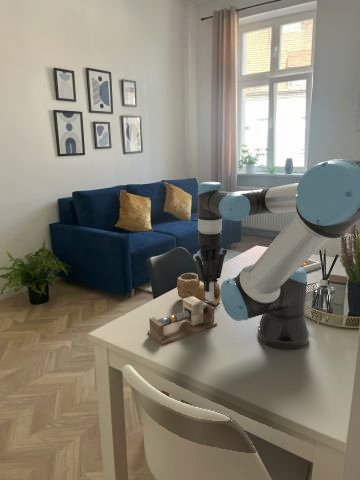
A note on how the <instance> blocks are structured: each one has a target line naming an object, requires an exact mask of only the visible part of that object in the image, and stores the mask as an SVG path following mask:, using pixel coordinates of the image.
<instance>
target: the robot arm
mask: <svg viewBox="0 0 360 480" xmlns="http://www.w3.org/2000/svg"><path fill="white" fill-rule="evenodd" d="M294 212H295V214H294V215H293V217H291V219H290V220H289V221H288V222H287V224H286V225H285V226H284V227H283V229H282V230H281V231H280V232H279V233H278V235H277V236H276V237H275V238H274V240H273V241H272V242H271V243H270V244H269V246H267V248H266V249H265V250H264V252H263V253H262V254H261V255H260V257H259V258H258V259H257V260H256V261H255V263H251V264H247V265H246V266H245V267H243V268H242V270H241V271H240V272H239V273H238V274H237V276H235V277H232V278H227V279H225V280H224V281H222V282H221V284H220V294H221V298H220V301H221V302H222V306H223V308H224V311H225V312H226V314H227V315H228V316H229V317H230V318H231V319H232V320H234V321H236V322H240V321H242V322H243V321H247V320H249V319H253V318H256V317H259V316H261V318H260V320H259V323H258V325H257V337H258V339H259V340H260V341H261V342H262V343H263V344H265V345H267V346H269V347H271V348H274V349H279V350H297V349H301V348H303V347H304V348H305V346H306V345H308V343H309V339H310V332H309V329H308V326H307V323H306V318H305V307H306V295H307V286H308V277H307V276H308V272H306V271H305V269H303V268H302V267H301V266H302V265H303V264H304V263H305V262H306V261H307V260H308V259H311V257H312V256H313V255H314V254H315V253H316V252H317V251H318V250H319V249H320V248H321V247H322V246H323V245H324V244H325V243H326V242H327V241H328V240H338V239H341V238H342V237H343V236H345V234H347V232H349V231H350V230H351V229H352V228H353V227H354V226H355V225H356V224H357V223H358V222H360V158H359V159H341V158H337V159H330V160H328V161H323V162H318V163H316V164H314V165H313V166H311V167H309V168H308V169H307V170H306V171H305V172H304V173H303V175H302V176H301V177H300V178H299V182H297V183H290V184H286V185H285V184H284V185H278V186H274V187H267V188H262V189H252V190H241V191H239V190H238V191H224V189H223V184H222V183H221V182H217V181H204V182H201V183H199V184H198V185H197V230H198V233H197V239H198V240H197V242H198V249H197V252H196V253H195V254H192V255H191V258H192V259H193V261H194V265H195V271H196V274H197V275H198V279H199V281H200V283H201V282H202V283H203V285H204V291H205V299H206V300H208V301H210V302H211V301H214V290H215V282H217V283H218V281H219V280H218V279H221V276H222V271H223V266H224V263H225V262H224V261H225V256H226V254H227V252H228V250H227V249H224V248H222V245H221V243H223V242H222V238H223V237H222V230H223V227H222V226H223V225H222V223H223V222H222V221H223V219H226V220H229V221H234V222H240V221H243V220H244V219H246V218H247V217H251V216H252V217H253V216H258V215H259V216H260V215H266V214H267V215H269V214H270V215H271V214H279V213H280V214H281V213H294ZM208 301H207V302H208Z"/></svg>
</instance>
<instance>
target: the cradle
mask: <svg viewBox="0 0 360 480" xmlns="http://www.w3.org/2000/svg"><path fill="white" fill-rule="evenodd" d="M202 302H203V305H206V307H207V312H206V313H203V323H200V324H197V325H194V326H193V325H191V324H190V323H188V322H187V321H185V320H182V321H179V322H175V323H172V324H170V325H167V326H164V325H163V324H162V323H161V322H159V321H158V319H156V318H155V317H151V318H149V329H148V330H147V333H148V334H149V336H151V337H152V338H153V339H154V340H156V341H157V342H158V343H159V344H160V345H162V346H164V345H167V344H170V343H172V342H175V341H177V340H180V339H183V338H186V337H188V336H191V335H194V334H196V333H199V332H202V331H204V330H207V329H210V328H212V327H215V326H218V322H216V321H215V307H214V306H211V305H210V304H208V303H206V301H202Z"/></svg>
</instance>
